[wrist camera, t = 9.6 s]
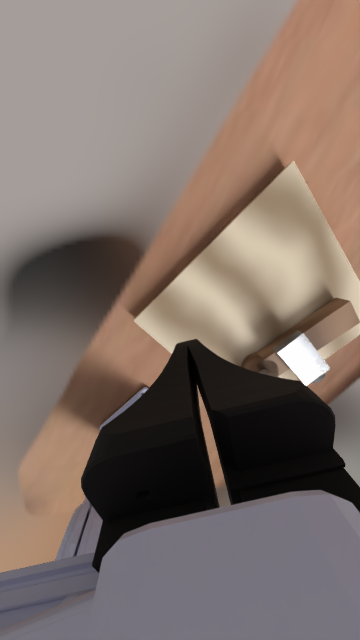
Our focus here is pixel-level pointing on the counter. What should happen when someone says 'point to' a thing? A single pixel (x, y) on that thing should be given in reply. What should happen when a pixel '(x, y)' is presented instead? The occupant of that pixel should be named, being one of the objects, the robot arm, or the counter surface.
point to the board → (258, 278)
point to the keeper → (302, 358)
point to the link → (315, 327)
